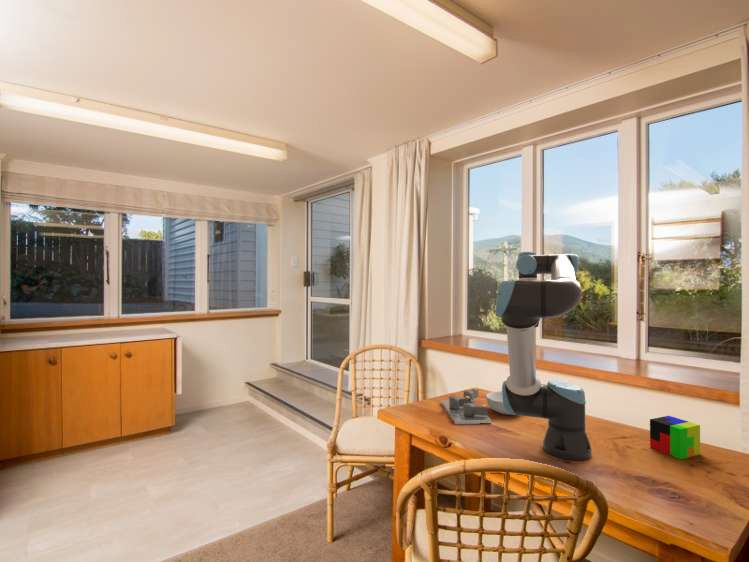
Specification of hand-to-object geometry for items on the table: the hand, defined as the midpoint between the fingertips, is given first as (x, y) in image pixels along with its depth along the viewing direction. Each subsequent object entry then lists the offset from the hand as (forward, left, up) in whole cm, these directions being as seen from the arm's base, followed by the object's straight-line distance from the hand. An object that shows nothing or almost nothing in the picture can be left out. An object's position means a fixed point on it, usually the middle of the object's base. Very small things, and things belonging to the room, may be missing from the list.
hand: (528, 343), depth 166 cm
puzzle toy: (-32, -37, -33) cm, 59 cm away
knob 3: (+2, +22, -31) cm, 38 cm away
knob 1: (+13, +26, -31) cm, 43 cm away
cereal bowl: (+11, +6, -33) cm, 35 cm away
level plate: (+11, +25, -32) cm, 42 cm away
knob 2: (+24, +18, -31) cm, 43 cm away
